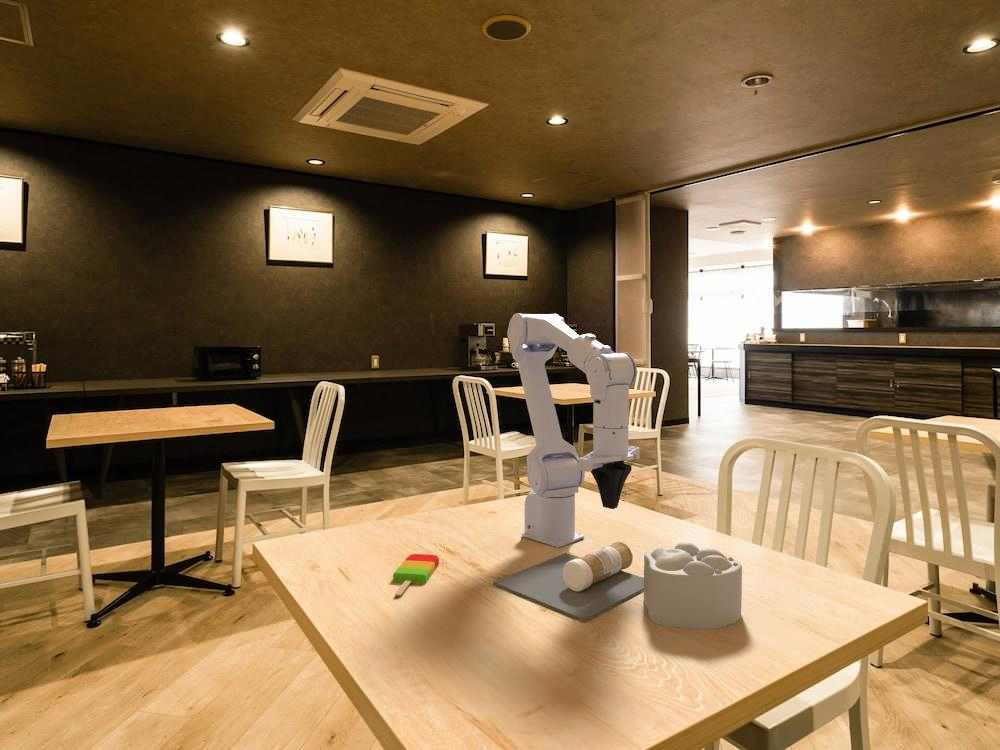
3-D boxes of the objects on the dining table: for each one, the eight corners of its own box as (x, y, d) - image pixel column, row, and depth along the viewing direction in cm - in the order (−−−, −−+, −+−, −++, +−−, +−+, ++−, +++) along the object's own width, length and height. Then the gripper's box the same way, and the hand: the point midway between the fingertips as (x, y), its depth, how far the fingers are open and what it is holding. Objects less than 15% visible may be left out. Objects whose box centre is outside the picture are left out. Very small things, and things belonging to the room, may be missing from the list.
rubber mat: (492, 584, 96) (492, 581, 96) (566, 555, 109) (566, 552, 109) (584, 622, 84) (584, 619, 84) (655, 584, 96) (655, 581, 96)
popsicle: (440, 564, 106) (440, 554, 106) (415, 602, 91) (415, 590, 91) (409, 563, 107) (409, 552, 107) (379, 599, 92) (379, 587, 92)
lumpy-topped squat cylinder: (640, 594, 93) (641, 538, 92) (729, 596, 92) (730, 540, 91) (652, 627, 82) (653, 564, 82) (752, 630, 81) (753, 566, 81)
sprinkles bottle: (615, 569, 103) (566, 593, 93) (607, 542, 104) (557, 563, 94) (637, 566, 100) (589, 591, 90) (629, 538, 101) (580, 560, 91)
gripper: (604, 434, 93) (604, 521, 94) (655, 424, 104) (654, 503, 105) (568, 429, 98) (568, 512, 99) (620, 419, 109) (619, 495, 110)
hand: (610, 507), depth 102 cm, fingers closed
